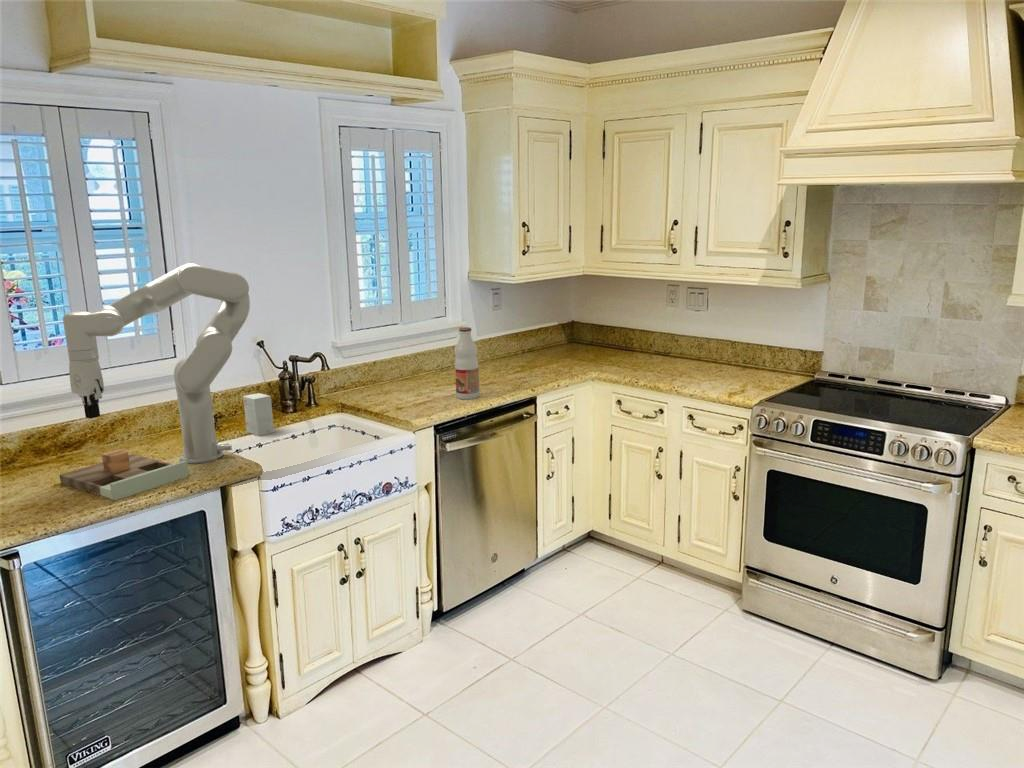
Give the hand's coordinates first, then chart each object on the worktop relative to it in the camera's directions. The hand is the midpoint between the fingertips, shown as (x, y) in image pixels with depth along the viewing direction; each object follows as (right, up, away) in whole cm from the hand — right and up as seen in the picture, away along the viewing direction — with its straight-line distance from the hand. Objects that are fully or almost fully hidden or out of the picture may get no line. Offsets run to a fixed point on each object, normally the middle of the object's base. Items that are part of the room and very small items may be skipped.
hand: (93, 417), depth 224 cm
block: (+8, -15, -2) cm, 17 cm away
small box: (+35, -7, +43) cm, 56 cm away
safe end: (+19, -19, -8) cm, 28 cm away
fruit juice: (+104, +4, +85) cm, 135 cm away
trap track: (+8, -18, -1) cm, 19 cm away
